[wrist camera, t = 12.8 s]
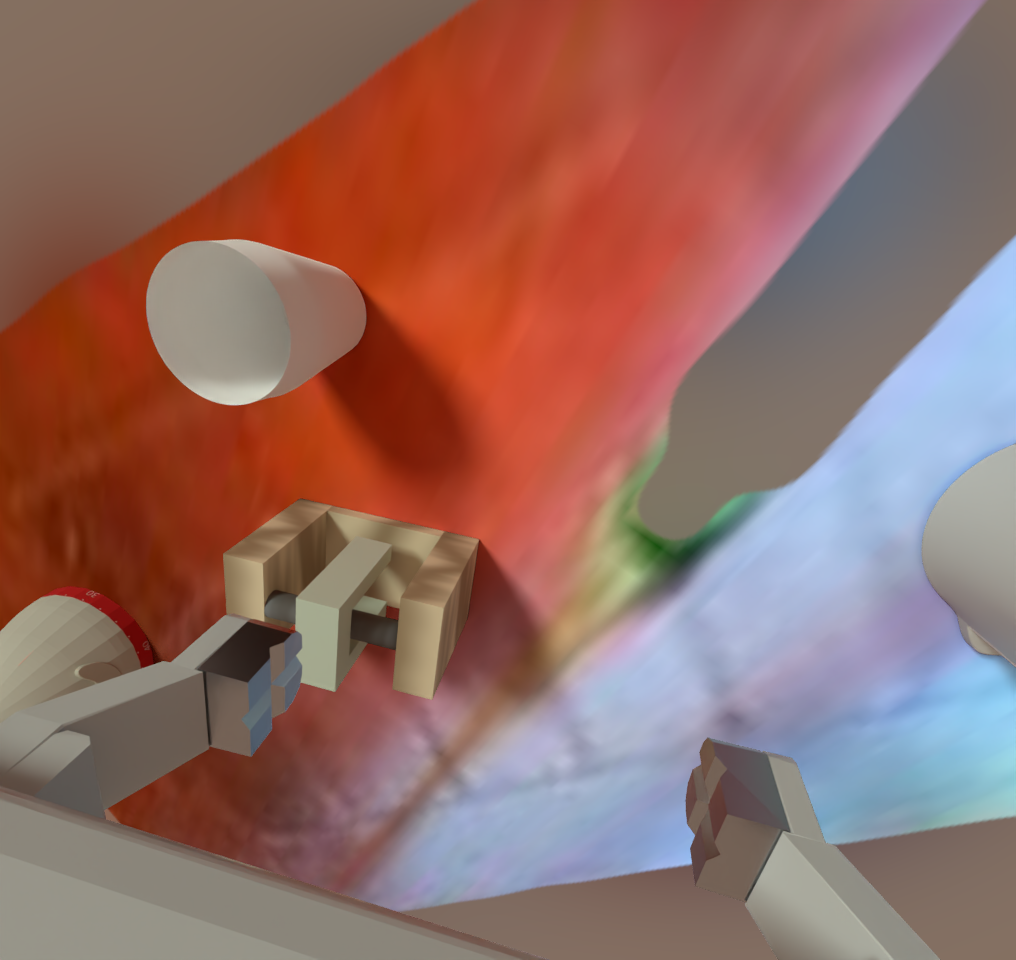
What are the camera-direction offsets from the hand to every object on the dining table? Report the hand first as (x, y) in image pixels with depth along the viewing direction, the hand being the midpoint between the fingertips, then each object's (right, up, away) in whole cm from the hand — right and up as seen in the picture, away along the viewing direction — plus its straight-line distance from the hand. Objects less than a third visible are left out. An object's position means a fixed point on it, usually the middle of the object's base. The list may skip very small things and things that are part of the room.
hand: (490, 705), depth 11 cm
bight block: (-11, -4, +34) cm, 36 cm away
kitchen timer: (-44, -13, +48) cm, 66 cm away
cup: (-13, +17, +30) cm, 37 cm away
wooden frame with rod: (-10, -2, +37) cm, 39 cm away
